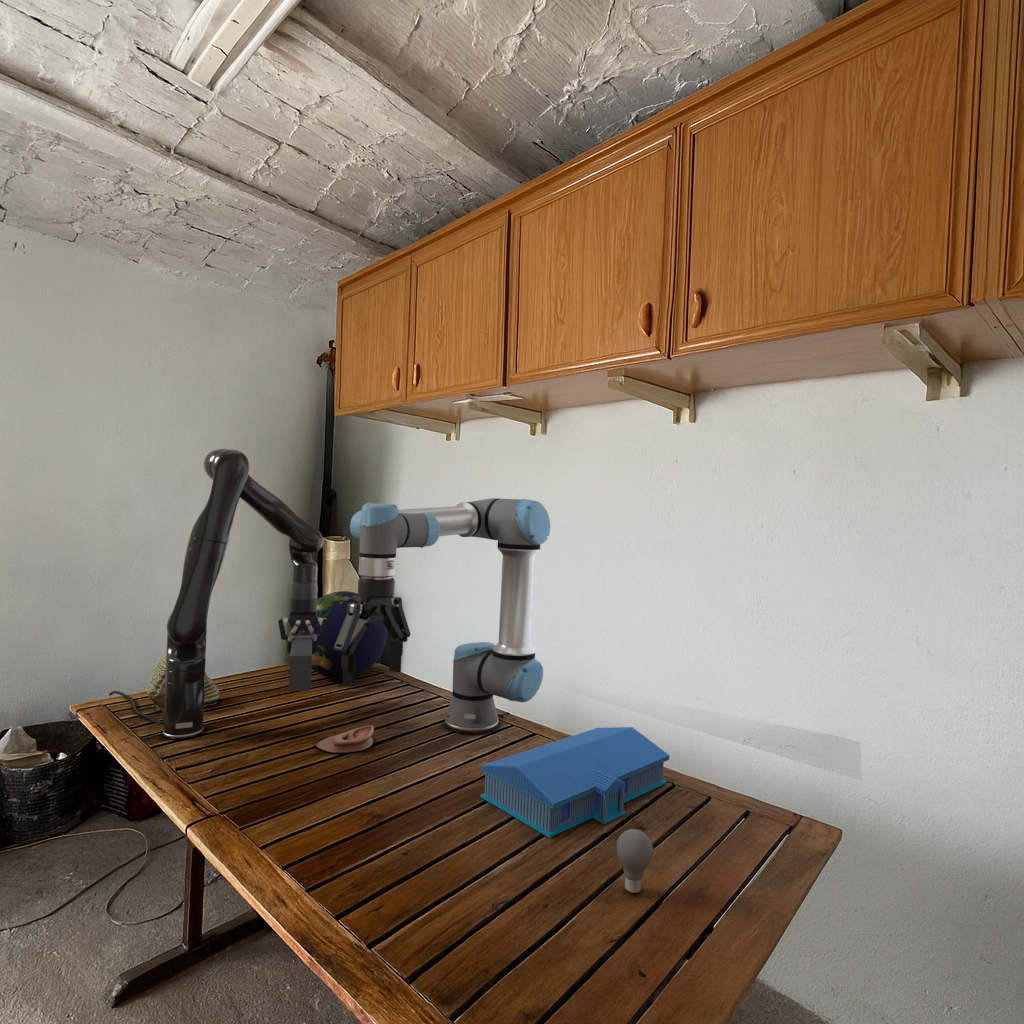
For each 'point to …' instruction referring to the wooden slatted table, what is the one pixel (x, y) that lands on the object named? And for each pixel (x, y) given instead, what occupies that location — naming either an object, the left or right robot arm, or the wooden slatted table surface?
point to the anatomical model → (348, 740)
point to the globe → (335, 612)
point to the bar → (300, 663)
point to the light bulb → (634, 857)
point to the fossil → (158, 687)
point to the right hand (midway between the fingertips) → (372, 678)
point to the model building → (575, 778)
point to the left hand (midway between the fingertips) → (301, 653)
